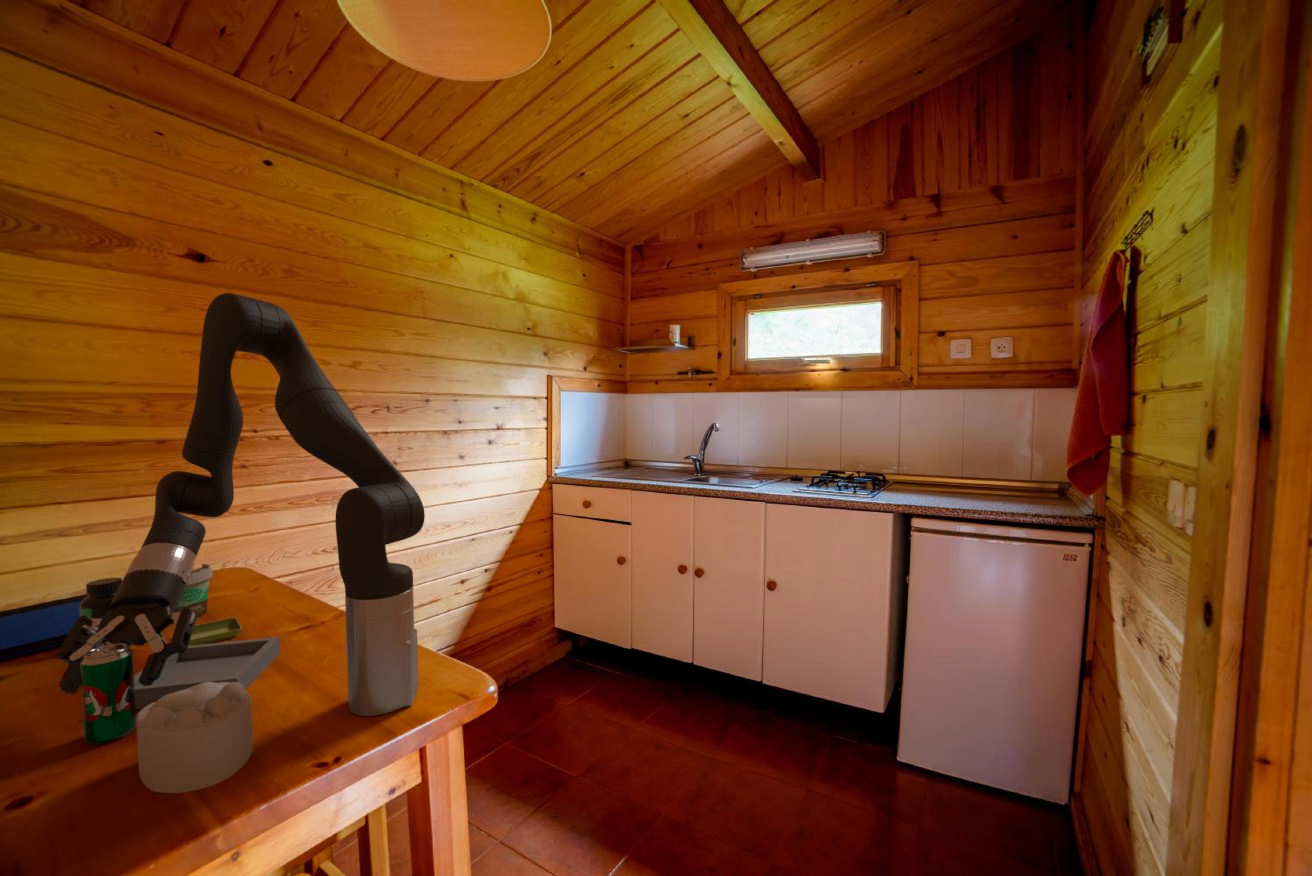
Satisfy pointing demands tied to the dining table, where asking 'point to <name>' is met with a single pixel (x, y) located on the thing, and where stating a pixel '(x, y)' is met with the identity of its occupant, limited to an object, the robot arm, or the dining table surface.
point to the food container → (196, 591)
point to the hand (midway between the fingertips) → (107, 688)
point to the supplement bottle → (99, 599)
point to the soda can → (108, 693)
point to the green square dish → (215, 631)
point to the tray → (209, 667)
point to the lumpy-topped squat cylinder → (194, 737)
